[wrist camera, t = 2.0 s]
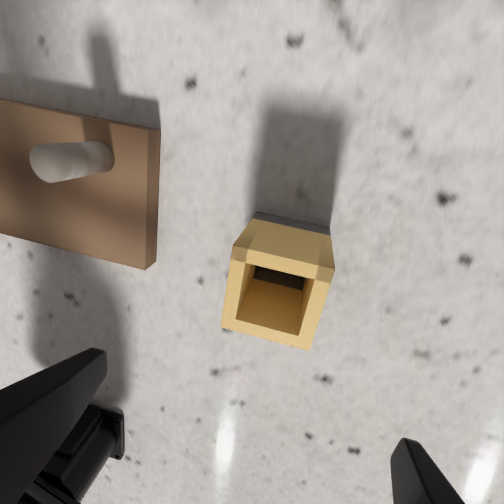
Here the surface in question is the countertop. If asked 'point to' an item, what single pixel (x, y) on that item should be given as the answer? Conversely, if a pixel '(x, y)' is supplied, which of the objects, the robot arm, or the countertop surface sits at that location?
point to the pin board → (79, 183)
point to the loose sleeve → (278, 280)
